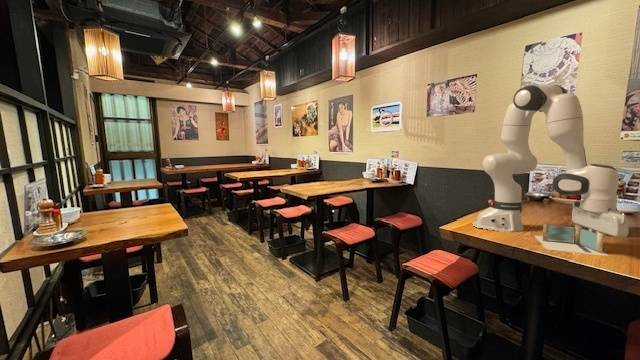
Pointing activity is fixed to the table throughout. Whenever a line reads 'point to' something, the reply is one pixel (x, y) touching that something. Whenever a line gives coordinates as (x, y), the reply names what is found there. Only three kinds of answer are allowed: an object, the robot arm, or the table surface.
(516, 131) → the robot arm
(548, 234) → the fixed fence
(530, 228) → the table surface
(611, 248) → the table surface
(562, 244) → the card
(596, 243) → the hinged panel
